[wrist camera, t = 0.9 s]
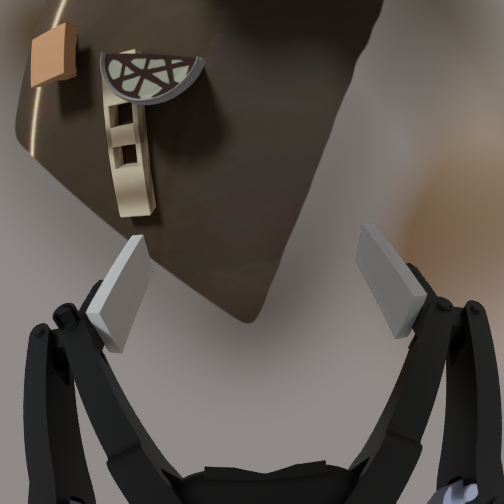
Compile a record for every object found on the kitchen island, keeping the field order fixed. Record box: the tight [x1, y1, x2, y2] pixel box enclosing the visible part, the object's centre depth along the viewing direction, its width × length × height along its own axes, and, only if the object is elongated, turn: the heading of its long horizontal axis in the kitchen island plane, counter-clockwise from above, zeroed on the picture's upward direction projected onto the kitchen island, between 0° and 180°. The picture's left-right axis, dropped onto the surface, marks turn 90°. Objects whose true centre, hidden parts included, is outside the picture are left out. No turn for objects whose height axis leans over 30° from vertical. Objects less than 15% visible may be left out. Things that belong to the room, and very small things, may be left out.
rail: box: [102, 49, 156, 217], centre depth 32 cm, size 24×5×3 cm, turn 0°
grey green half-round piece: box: [100, 52, 206, 105], centre depth 26 cm, size 12×6×10 cm, turn 75°
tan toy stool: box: [31, 23, 77, 88], centre depth 22 cm, size 8×6×6 cm
